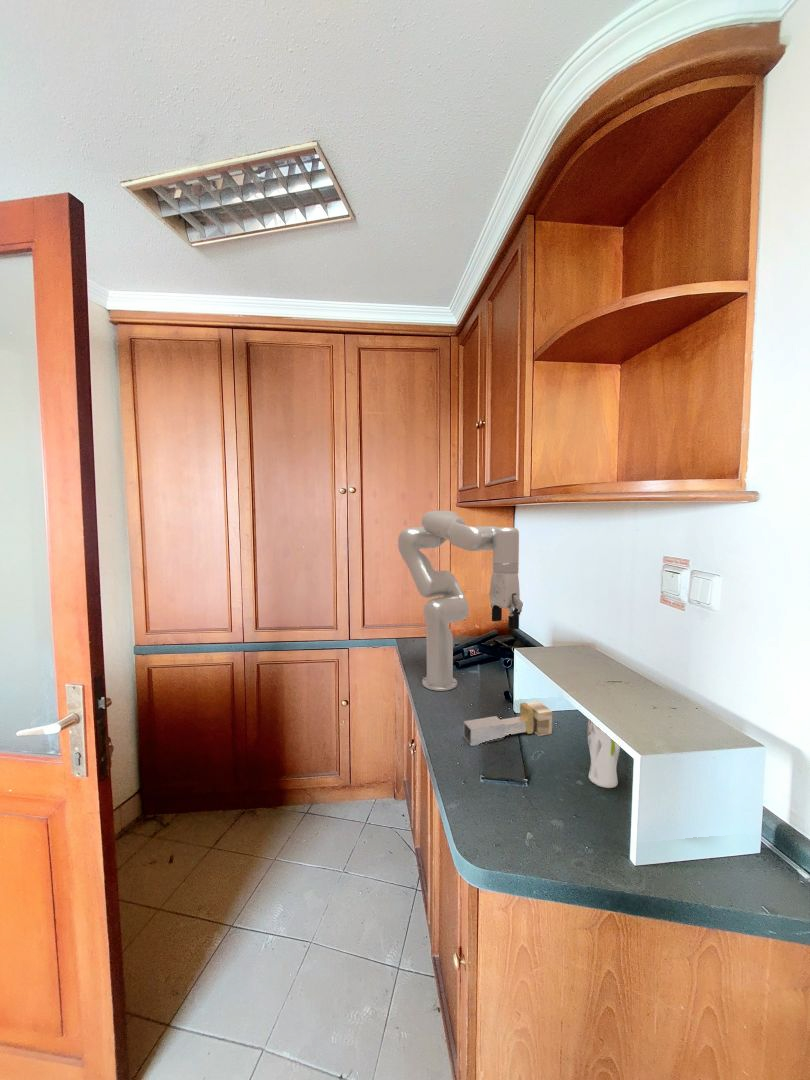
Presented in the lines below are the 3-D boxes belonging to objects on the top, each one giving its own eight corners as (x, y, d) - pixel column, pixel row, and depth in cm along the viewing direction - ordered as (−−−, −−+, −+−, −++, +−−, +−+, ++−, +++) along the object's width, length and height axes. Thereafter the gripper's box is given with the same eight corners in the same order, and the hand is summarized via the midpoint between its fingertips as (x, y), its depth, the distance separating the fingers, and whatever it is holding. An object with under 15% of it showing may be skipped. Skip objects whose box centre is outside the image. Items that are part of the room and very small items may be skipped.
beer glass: (624, 791, 91) (626, 725, 90) (590, 787, 93) (592, 722, 92) (614, 772, 98) (616, 711, 97) (583, 769, 100) (585, 708, 99)
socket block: (525, 724, 121) (525, 703, 120) (538, 722, 122) (538, 701, 121) (538, 736, 114) (539, 713, 114) (551, 733, 116) (552, 711, 115)
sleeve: (463, 737, 114) (463, 721, 114) (496, 731, 117) (496, 716, 117) (471, 746, 110) (471, 729, 109) (504, 740, 112) (504, 723, 112)
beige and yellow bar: (488, 732, 116) (488, 708, 115) (537, 723, 120) (538, 700, 120) (495, 739, 112) (496, 714, 112) (546, 730, 117) (546, 706, 116)
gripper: (480, 565, 131) (480, 619, 132) (509, 572, 114) (509, 633, 115) (501, 564, 133) (501, 617, 134) (533, 571, 116) (532, 631, 117)
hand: (504, 624), depth 125 cm, fingers open, 9 cm apart
